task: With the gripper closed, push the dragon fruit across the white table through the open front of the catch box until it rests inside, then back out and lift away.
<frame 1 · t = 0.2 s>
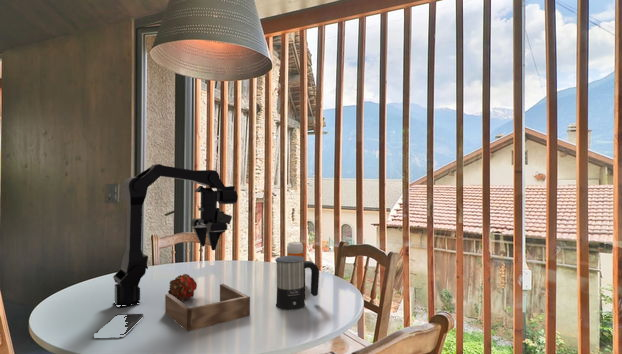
hand: (208, 248, 140), 14 cm above the table, tool pointing down, fingers open, 9 cm apart
milk frother: (290, 302, 125), on the table
white capped bottle: (294, 283, 147), on the table
catch box: (206, 313, 113), on the table
phone: (120, 328, 103), on the table
dragon fruit: (182, 298, 128), on the table
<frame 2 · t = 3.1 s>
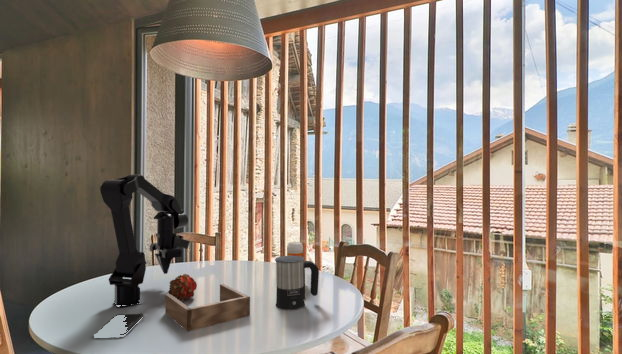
hand: (165, 273, 141), 5 cm above the table, tool pointing down, fingers closed
nothing on the table moved.
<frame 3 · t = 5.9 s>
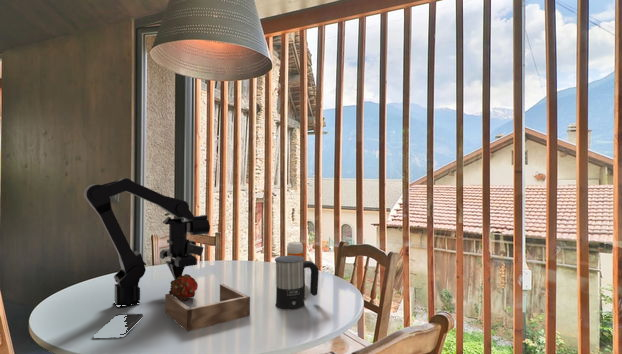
hand: (177, 282, 132), 4 cm above the table, tool pointing down, fingers closed
dragon fruit: (183, 298, 128), on the table, touching gripper
everything else where it was.
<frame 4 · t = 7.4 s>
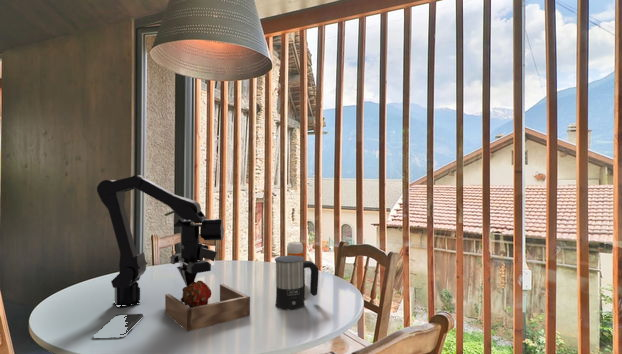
hand: (189, 289, 123), 4 cm above the table, tool pointing down, fingers closed
dragon fruit: (196, 307, 120), resting in catch box, touching gripper
everything else where it was.
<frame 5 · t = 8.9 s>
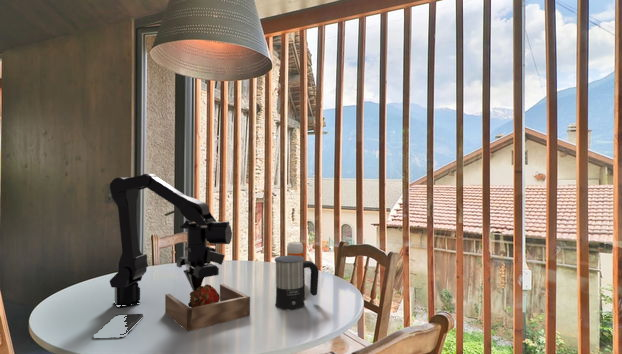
hand: (196, 294, 119), 4 cm above the table, tool pointing down, fingers closed
dragon fruit: (204, 312, 115), resting in catch box, touching gripper
everything else where it was.
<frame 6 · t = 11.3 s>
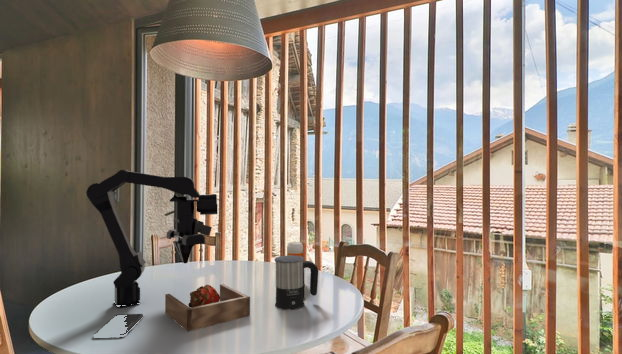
hand: (185, 263, 126), 12 cm above the table, tool pointing down, fingers closed
dragon fruit: (204, 312, 115), resting in catch box
everything else where it was.
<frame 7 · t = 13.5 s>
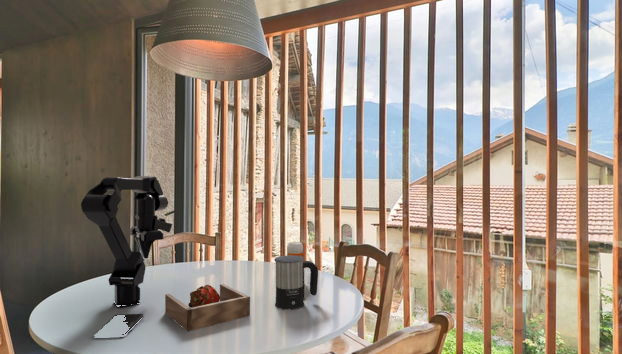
hand: (145, 258, 133), 12 cm above the table, tool pointing down, fingers closed
nothing on the table moved.
at the end: dragon fruit inside the target area on the catch box (4.7 cm from its centre), point 0.0 cm above the catch box's base; dragon fruit moved 16.6 cm from its start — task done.
